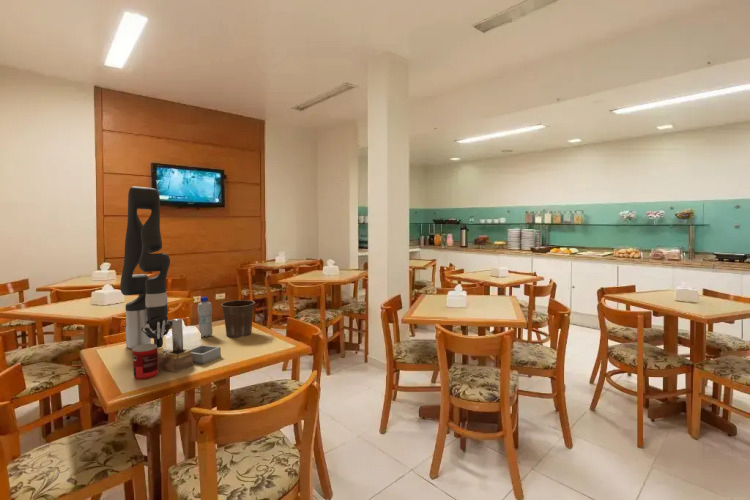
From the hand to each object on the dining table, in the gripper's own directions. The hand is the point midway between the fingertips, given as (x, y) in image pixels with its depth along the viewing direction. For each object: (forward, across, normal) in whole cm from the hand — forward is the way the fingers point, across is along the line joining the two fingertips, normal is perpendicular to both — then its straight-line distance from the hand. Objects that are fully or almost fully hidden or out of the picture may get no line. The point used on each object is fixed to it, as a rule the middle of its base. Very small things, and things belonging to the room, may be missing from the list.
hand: (158, 347), depth 153 cm
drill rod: (+2, 0, +10) cm, 10 cm away
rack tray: (+7, -11, +11) cm, 17 cm away
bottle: (+8, -38, -13) cm, 41 cm away
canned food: (+7, +10, +5) cm, 13 cm away
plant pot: (+8, -46, +1) cm, 47 cm away
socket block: (+7, 0, +5) cm, 9 cm away
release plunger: (+6, 0, 0) cm, 6 cm away
